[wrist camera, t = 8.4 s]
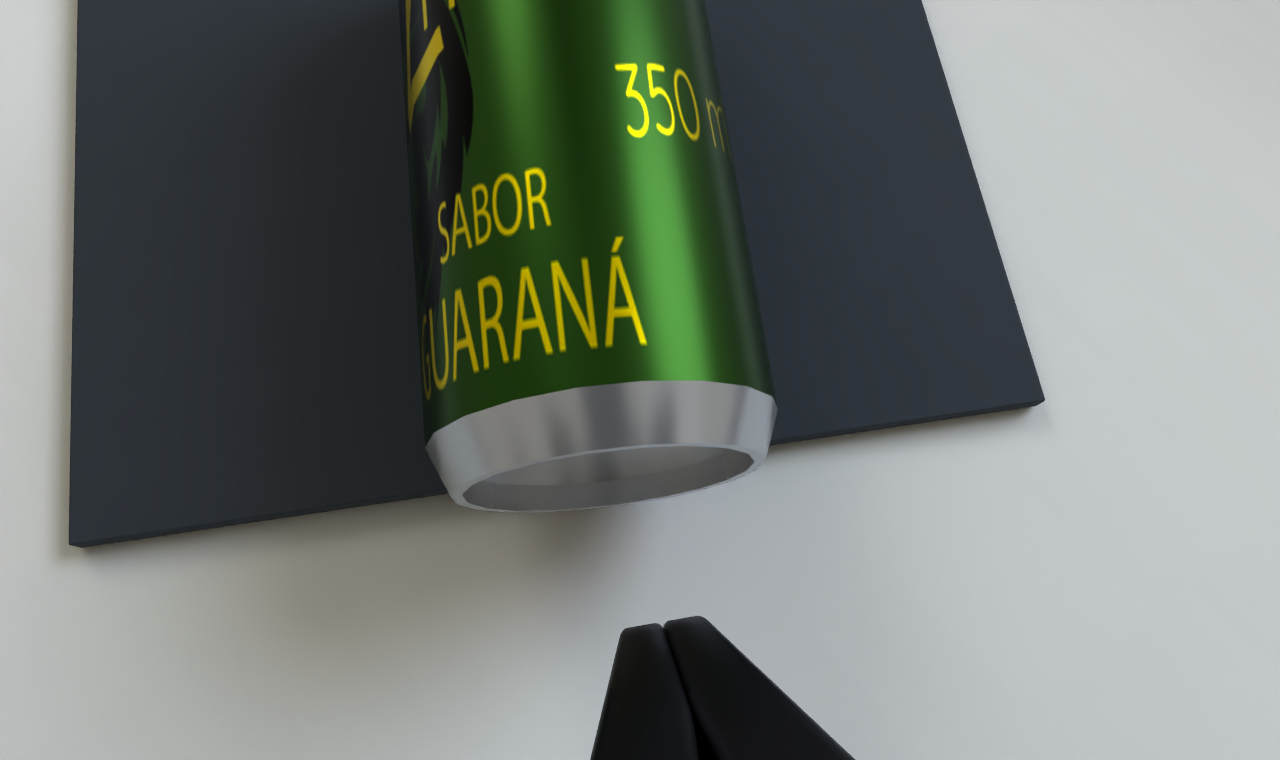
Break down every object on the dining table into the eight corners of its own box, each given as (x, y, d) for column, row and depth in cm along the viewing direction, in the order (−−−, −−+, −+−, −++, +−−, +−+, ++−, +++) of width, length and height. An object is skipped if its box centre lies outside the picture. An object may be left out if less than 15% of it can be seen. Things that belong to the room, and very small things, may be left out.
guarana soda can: (541, 524, 17) (491, 1, 20) (821, 471, 15) (713, -96, 18) (346, 497, 12) (324, -185, 15) (722, 411, 10) (602, -342, 14)
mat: (1036, 405, 18) (1046, 400, 17) (79, 548, 15) (66, 546, 15) (814, -316, 23) (819, -332, 23) (90, -292, 21) (82, -310, 21)
